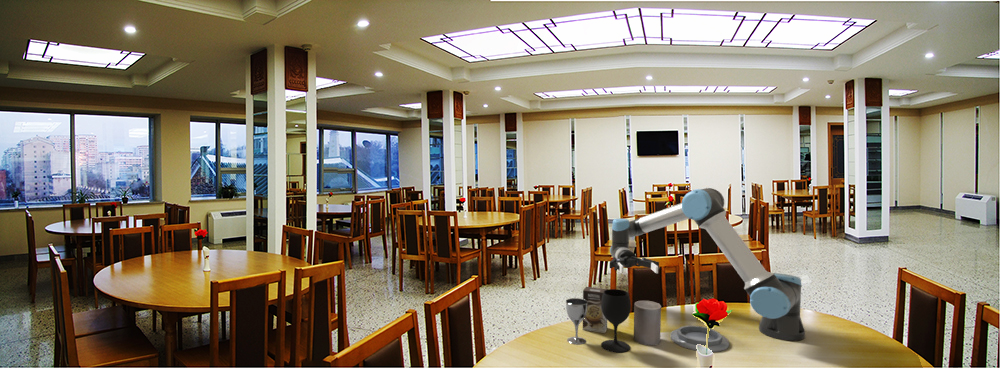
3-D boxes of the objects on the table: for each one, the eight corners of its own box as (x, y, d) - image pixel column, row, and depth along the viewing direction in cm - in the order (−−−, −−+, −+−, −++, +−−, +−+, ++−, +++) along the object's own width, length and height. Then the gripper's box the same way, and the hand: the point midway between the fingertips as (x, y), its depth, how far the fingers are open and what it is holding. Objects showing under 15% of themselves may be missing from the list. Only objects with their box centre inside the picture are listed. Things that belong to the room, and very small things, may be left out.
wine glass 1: (589, 338, 170) (589, 299, 169) (584, 346, 163) (584, 306, 162) (569, 335, 174) (569, 297, 173) (563, 342, 167) (563, 303, 166)
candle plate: (720, 332, 176) (720, 325, 175) (736, 354, 156) (736, 346, 156) (666, 328, 179) (666, 321, 179) (675, 349, 160) (676, 342, 160)
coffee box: (582, 330, 179) (582, 290, 178) (585, 324, 185) (585, 285, 184) (605, 333, 175) (605, 292, 174) (607, 327, 181) (608, 288, 180)
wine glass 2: (631, 354, 157) (632, 297, 155) (601, 351, 159) (601, 296, 158) (629, 341, 167) (629, 289, 166) (600, 339, 169) (600, 287, 168)
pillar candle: (628, 337, 171) (628, 299, 170) (648, 333, 175) (648, 295, 174) (645, 347, 162) (646, 307, 161) (666, 342, 166) (667, 303, 165)
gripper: (654, 266, 198) (671, 279, 177) (597, 265, 198) (607, 279, 177) (654, 249, 197) (671, 260, 176) (597, 249, 198) (608, 260, 177)
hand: (639, 269), depth 177 cm, fingers open, 13 cm apart
